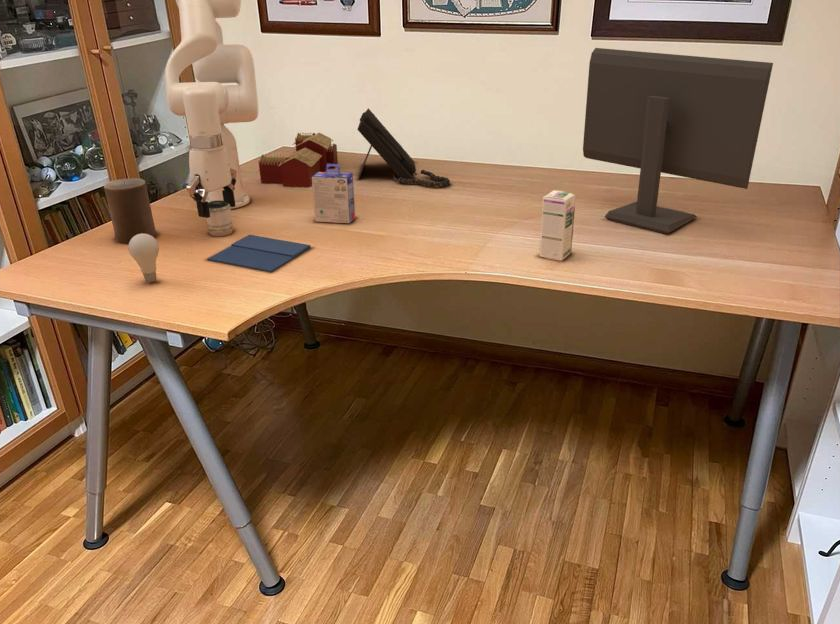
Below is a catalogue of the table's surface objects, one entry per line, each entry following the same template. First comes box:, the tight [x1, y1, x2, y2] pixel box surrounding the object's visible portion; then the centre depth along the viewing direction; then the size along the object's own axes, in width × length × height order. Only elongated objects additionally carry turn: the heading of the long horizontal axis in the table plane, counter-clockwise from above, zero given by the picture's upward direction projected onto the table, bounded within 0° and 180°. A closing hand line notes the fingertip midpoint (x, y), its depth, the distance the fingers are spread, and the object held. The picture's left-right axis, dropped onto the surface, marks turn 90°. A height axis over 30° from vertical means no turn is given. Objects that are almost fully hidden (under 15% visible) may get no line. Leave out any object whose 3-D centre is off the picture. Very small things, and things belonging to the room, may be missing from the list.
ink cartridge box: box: [311, 163, 356, 224], centre depth 185 cm, size 10×6×14 cm, turn 78°
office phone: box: [357, 107, 451, 188], centre depth 219 cm, size 29×28×20 cm
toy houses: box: [255, 132, 339, 188], centre depth 232 cm, size 45×20×10 cm, turn 173°
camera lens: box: [205, 201, 234, 237], centre depth 179 cm, size 6×6×8 cm
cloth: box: [207, 234, 311, 273], centre depth 168 cm, size 18×16×1 cm
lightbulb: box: [127, 234, 160, 284], centre depth 152 cm, size 6×6×11 cm
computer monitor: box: [582, 47, 774, 235], centre depth 176 cm, size 44×16×40 cm, turn 47°
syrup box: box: [539, 189, 577, 262], centre depth 161 cm, size 6×6×14 cm
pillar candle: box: [103, 177, 157, 244], centre depth 176 cm, size 10×10×15 cm
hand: (217, 211), depth 178 cm, fingers open, 9 cm apart
